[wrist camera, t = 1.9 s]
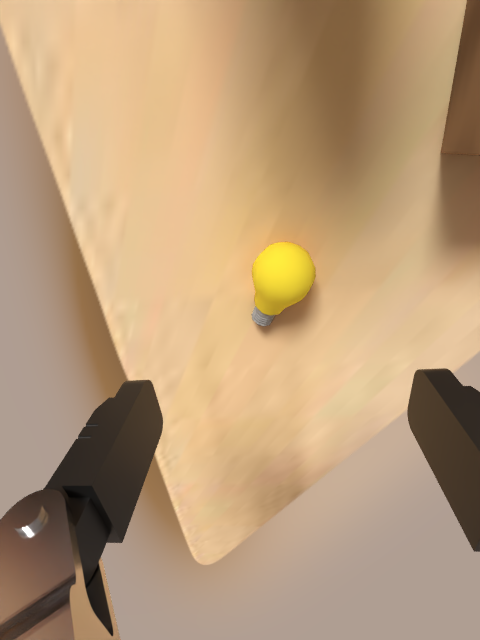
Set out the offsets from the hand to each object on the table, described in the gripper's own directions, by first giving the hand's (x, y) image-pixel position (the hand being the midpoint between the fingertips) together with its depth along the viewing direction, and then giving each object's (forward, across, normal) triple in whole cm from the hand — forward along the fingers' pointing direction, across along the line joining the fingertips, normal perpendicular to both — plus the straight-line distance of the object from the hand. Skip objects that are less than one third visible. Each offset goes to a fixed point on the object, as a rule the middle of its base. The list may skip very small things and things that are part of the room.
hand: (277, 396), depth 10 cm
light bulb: (+11, 0, +1) cm, 11 cm away
